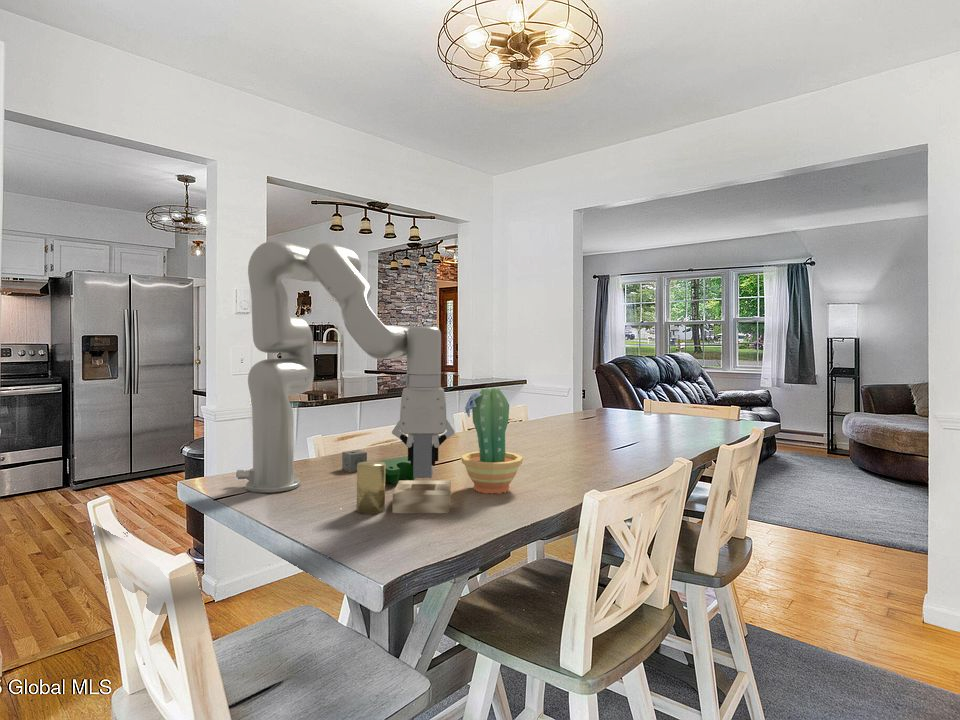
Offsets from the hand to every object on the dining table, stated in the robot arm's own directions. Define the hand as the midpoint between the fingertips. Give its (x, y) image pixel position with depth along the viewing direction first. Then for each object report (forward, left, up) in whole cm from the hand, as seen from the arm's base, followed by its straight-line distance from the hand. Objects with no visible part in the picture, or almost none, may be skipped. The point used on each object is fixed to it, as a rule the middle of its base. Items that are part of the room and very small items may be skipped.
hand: (423, 463), depth 128 cm
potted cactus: (+16, +14, -9) cm, 23 cm away
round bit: (-11, -4, -9) cm, 15 cm away
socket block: (0, 0, -9) cm, 9 cm away
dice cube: (-22, +34, -10) cm, 42 cm away
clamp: (-8, +21, -10) cm, 24 cm away
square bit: (0, 0, -3) cm, 3 cm away
